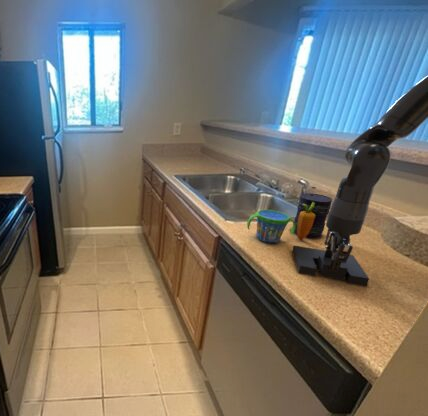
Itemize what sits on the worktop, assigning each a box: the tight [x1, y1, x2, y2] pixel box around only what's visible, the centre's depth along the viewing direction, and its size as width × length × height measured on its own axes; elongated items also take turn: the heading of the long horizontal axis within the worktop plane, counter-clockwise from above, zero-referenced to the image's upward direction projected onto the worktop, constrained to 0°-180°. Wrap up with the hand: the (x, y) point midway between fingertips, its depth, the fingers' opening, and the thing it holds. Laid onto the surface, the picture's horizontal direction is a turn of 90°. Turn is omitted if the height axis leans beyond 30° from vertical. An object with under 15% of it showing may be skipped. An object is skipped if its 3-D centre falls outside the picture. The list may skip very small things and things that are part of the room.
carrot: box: [297, 202, 315, 241], centre depth 100 cm, size 5×5×15 cm
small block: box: [316, 256, 348, 281], centre depth 82 cm, size 6×6×4 cm
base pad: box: [291, 245, 370, 287], centre depth 86 cm, size 16×14×2 cm
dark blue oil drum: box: [293, 186, 333, 240], centre depth 105 cm, size 10×10×18 cm
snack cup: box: [246, 209, 296, 244], centre depth 102 cm, size 16×10×10 cm
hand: (330, 265), depth 82 cm, fingers closed on small block, 5 cm apart
